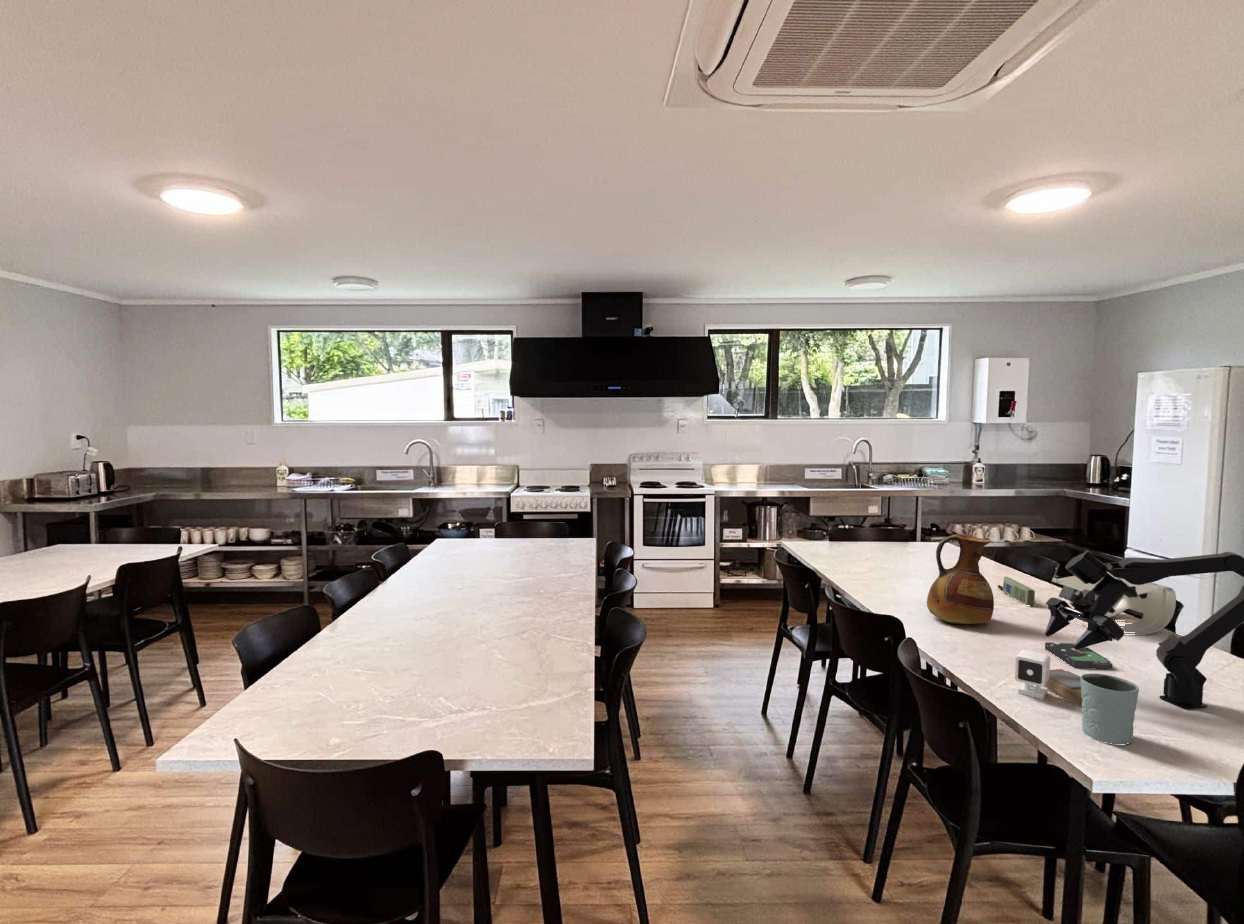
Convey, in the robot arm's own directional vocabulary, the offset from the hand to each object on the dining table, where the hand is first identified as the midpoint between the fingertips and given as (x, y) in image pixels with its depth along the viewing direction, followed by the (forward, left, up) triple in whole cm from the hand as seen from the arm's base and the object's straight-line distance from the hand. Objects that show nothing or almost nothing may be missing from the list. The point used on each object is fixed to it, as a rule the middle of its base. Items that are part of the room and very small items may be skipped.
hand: (1059, 641), depth 157 cm
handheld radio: (+77, -57, -14) cm, 97 cm away
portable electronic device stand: (+44, -64, -13) cm, 79 cm away
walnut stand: (0, -3, -13) cm, 13 cm away
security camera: (+1, +7, -13) cm, 15 cm away
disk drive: (+19, -25, -14) cm, 34 cm away
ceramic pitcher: (+56, -16, -13) cm, 59 cm away
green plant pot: (-20, +8, -13) cm, 26 cm away
